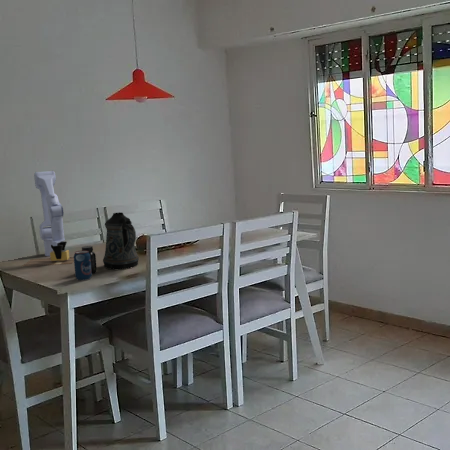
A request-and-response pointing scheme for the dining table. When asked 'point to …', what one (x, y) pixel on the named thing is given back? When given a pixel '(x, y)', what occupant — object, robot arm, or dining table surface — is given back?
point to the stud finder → (64, 256)
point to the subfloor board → (48, 262)
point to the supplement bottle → (91, 258)
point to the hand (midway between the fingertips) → (60, 257)
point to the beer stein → (120, 243)
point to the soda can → (82, 265)
